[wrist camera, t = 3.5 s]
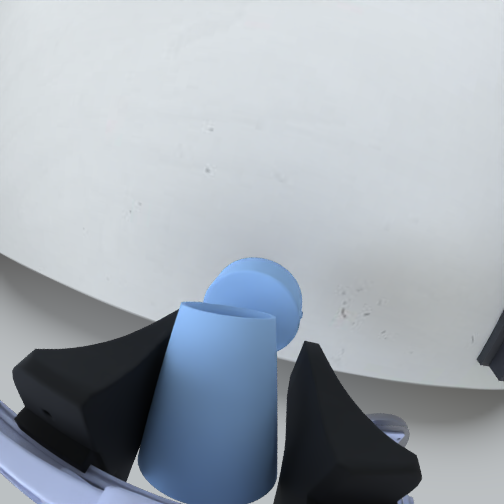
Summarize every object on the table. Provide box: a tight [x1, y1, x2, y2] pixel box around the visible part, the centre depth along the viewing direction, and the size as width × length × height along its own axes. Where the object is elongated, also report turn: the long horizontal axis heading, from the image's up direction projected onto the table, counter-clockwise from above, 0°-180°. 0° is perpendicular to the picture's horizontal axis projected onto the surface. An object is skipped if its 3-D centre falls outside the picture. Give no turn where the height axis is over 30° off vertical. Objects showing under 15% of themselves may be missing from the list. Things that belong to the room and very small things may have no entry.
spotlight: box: [138, 258, 303, 504], centre depth 10 cm, size 5×10×7 cm
